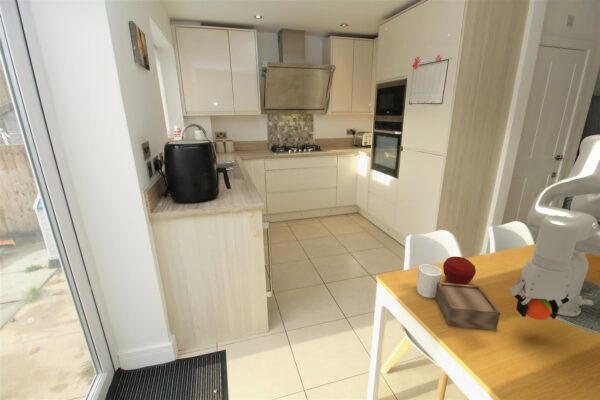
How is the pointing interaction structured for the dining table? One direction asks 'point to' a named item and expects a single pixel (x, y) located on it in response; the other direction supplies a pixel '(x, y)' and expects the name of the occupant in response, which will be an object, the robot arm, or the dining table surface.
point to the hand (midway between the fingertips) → (535, 314)
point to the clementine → (538, 309)
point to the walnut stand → (467, 306)
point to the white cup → (428, 280)
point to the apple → (458, 270)
